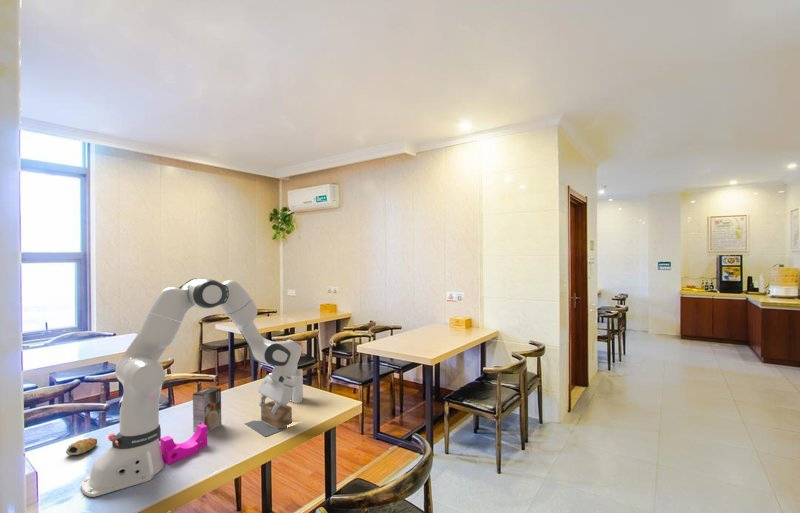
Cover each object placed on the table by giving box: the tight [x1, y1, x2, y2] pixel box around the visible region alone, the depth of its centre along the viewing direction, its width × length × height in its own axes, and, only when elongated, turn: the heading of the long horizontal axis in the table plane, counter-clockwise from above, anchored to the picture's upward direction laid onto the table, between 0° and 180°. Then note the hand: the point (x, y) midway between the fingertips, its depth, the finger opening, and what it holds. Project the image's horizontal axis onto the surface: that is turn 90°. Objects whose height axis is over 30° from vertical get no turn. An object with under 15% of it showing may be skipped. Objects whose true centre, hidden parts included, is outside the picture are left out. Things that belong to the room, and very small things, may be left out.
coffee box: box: [192, 386, 222, 433], centre depth 162 cm, size 9×6×16 cm
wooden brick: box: [260, 400, 293, 429], centre depth 167 cm, size 7×13×7 cm, turn 48°
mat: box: [244, 420, 290, 438], centre depth 170 cm, size 30×18×1 cm, turn 138°
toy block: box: [160, 424, 208, 466], centre depth 142 cm, size 15×6×8 cm, turn 143°
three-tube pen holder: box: [289, 364, 304, 404], centre depth 192 cm, size 11×7×20 cm, turn 59°
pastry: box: [65, 437, 98, 456], centre depth 144 cm, size 9×7×4 cm
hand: (266, 409), depth 163 cm, fingers open, 8 cm apart
